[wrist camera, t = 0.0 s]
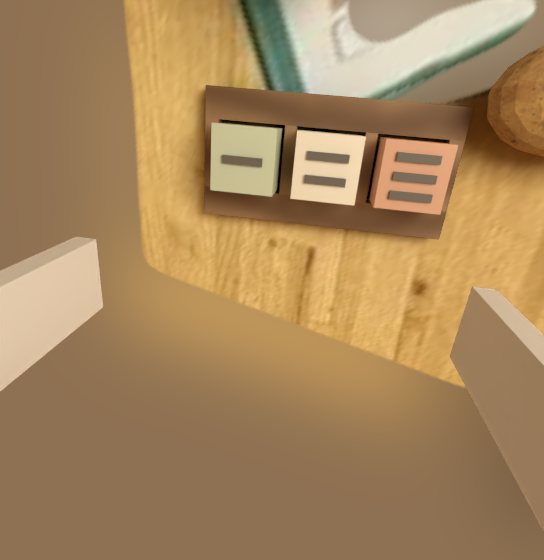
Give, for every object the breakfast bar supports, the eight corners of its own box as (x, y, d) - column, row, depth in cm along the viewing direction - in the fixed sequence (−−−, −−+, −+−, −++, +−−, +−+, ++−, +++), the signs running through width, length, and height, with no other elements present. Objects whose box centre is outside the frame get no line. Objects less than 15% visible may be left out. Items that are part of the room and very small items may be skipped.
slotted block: (222, 122, 36) (210, 122, 32) (282, 128, 36) (277, 128, 32) (221, 183, 39) (209, 190, 35) (277, 189, 38) (271, 197, 34)
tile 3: (380, 137, 35) (387, 138, 31) (444, 143, 34) (459, 145, 31) (368, 199, 37) (374, 208, 33) (428, 205, 37) (441, 215, 33)
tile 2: (300, 129, 36) (296, 130, 32) (361, 135, 35) (366, 136, 31) (293, 191, 38) (290, 199, 34) (351, 197, 37) (354, 206, 33)
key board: (211, 87, 37) (205, 85, 35) (466, 107, 34) (474, 107, 33) (209, 209, 41) (204, 212, 40) (433, 234, 39) (439, 239, 37)
